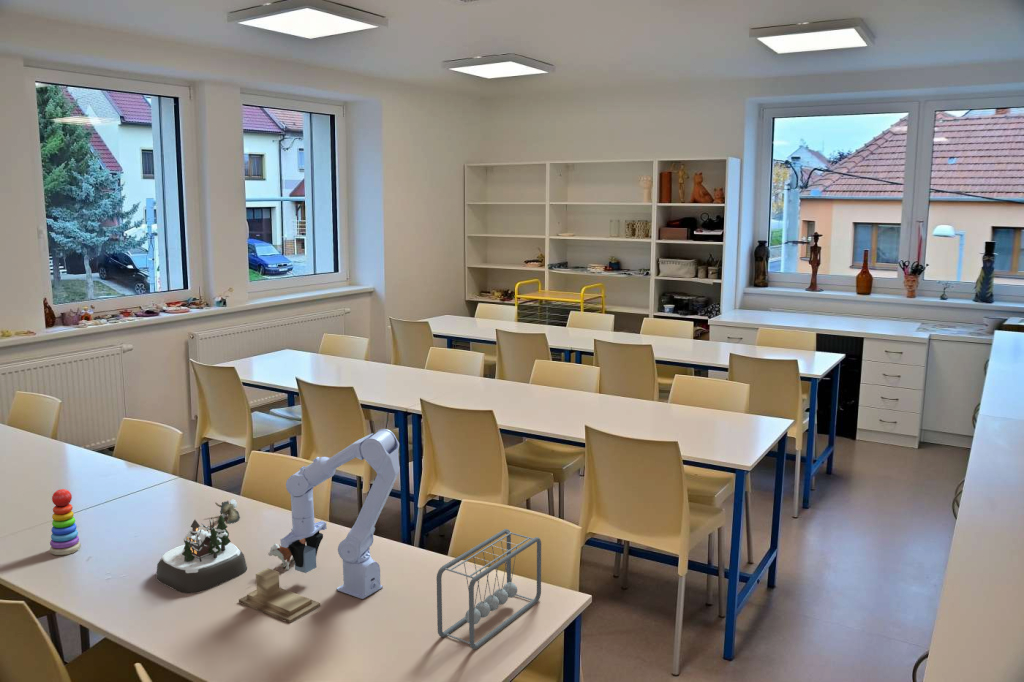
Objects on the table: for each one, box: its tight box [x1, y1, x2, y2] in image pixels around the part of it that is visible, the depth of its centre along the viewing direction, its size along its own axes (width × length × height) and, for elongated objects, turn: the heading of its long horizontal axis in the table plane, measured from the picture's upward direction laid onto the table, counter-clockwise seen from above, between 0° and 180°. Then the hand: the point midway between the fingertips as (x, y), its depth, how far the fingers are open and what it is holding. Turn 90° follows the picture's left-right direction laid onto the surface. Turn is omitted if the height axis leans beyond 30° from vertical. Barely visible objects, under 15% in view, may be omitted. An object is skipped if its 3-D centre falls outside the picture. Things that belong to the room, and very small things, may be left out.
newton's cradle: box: [436, 528, 542, 650], centre depth 199 cm, size 30×10×18 cm, turn 146°
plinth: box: [238, 587, 321, 624], centre depth 207 cm, size 19×10×2 cm, turn 57°
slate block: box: [293, 544, 318, 574], centre depth 218 cm, size 4×4×6 cm
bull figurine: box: [267, 538, 306, 572], centre depth 229 cm, size 4×13×8 cm, turn 152°
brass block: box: [255, 567, 281, 598], centre depth 209 cm, size 4×4×6 cm
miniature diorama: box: [155, 514, 248, 594], centre depth 223 cm, size 20×20×17 cm
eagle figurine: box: [214, 498, 241, 524], centre depth 262 cm, size 8×7×9 cm
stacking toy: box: [49, 488, 82, 556], centre depth 237 cm, size 8×8×19 cm
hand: (305, 562), depth 218 cm, fingers closed on slate block, 4 cm apart
